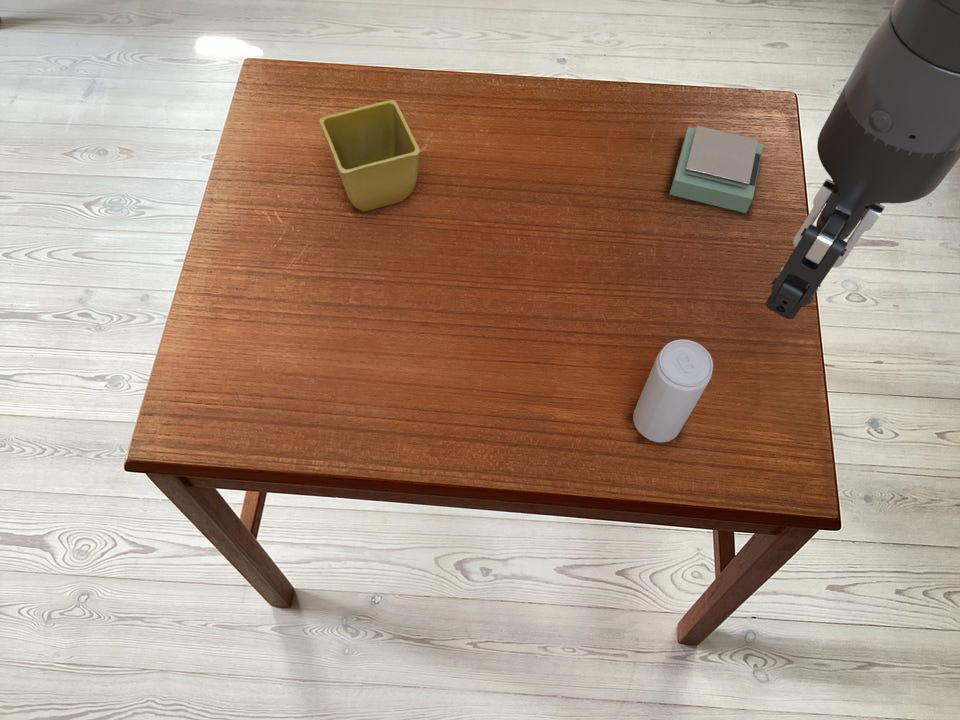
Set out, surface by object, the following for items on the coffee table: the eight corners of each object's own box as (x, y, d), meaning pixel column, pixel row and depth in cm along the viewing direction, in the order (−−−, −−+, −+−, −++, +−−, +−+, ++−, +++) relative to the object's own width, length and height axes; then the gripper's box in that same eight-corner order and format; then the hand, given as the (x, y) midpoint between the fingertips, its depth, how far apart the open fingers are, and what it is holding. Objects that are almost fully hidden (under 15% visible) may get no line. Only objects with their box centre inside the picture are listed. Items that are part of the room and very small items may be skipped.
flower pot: (401, 156, 93) (395, 97, 85) (425, 208, 89) (421, 151, 81) (331, 175, 91) (317, 117, 83) (352, 229, 87) (340, 173, 79)
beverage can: (668, 394, 77) (699, 331, 67) (689, 436, 75) (725, 378, 64) (623, 408, 76) (648, 346, 66) (644, 451, 74) (673, 393, 64)
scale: (756, 159, 93) (764, 142, 91) (745, 213, 89) (753, 197, 86) (683, 141, 94) (688, 125, 92) (669, 194, 90) (674, 178, 88)
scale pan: (756, 144, 90) (758, 139, 90) (747, 188, 87) (749, 183, 86) (695, 130, 91) (697, 125, 91) (684, 173, 88) (685, 168, 87)
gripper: (935, 209, 39) (811, 365, 53) (1021, 59, 45) (888, 235, 59) (799, 144, 41) (714, 310, 55) (898, 9, 47) (798, 191, 61)
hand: (804, 272), depth 57 cm, fingers open, 8 cm apart
